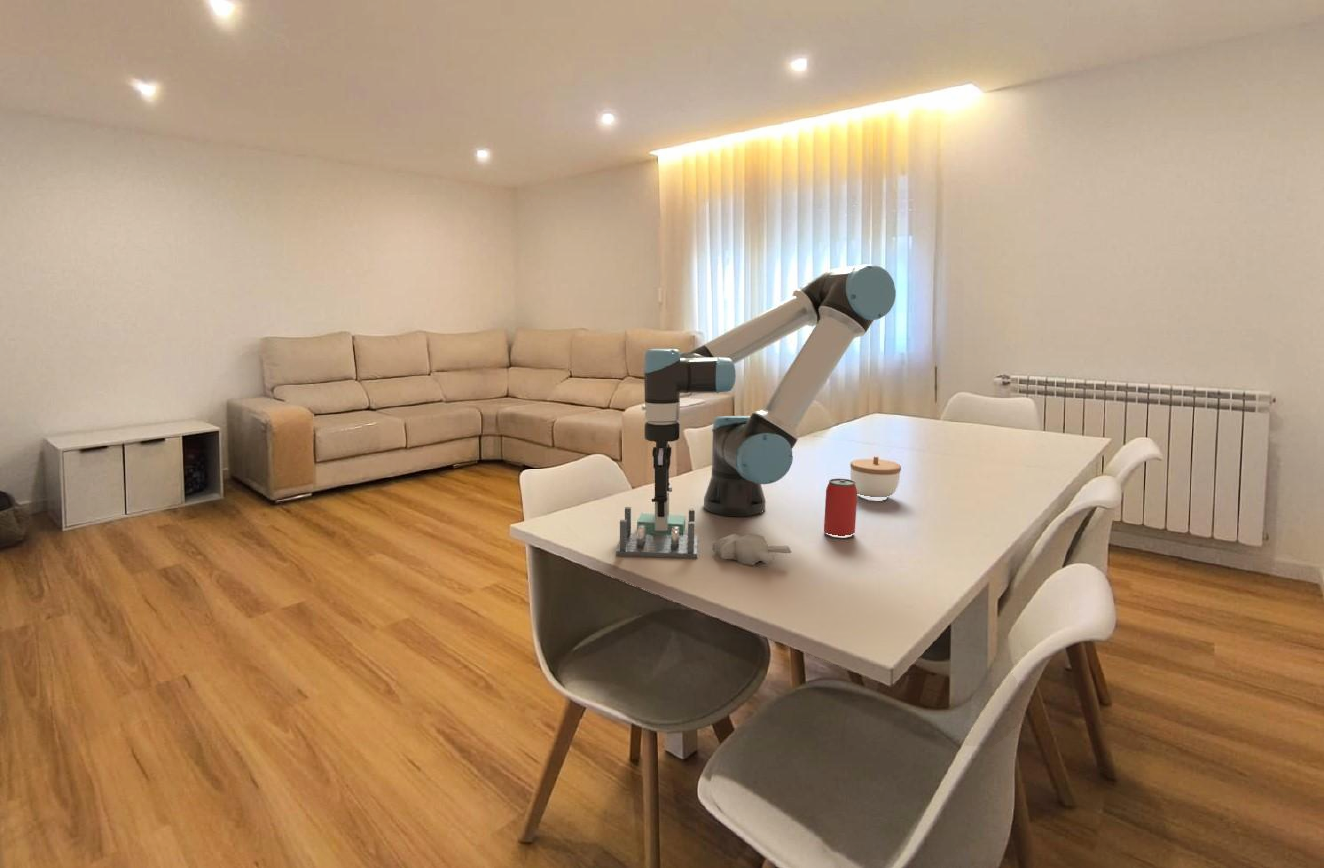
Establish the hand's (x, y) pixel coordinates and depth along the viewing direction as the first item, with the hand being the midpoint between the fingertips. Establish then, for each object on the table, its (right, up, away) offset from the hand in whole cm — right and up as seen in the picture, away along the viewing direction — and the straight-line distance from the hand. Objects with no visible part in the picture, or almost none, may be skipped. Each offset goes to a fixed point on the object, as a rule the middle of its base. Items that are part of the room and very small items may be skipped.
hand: (662, 525), depth 149 cm
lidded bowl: (+55, +3, +29) cm, 63 cm away
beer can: (+39, -2, -1) cm, 39 cm away
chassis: (-1, -3, -10) cm, 11 cm away
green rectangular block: (0, -1, 0) cm, 1 cm away
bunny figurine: (+17, -5, -17) cm, 24 cm away
